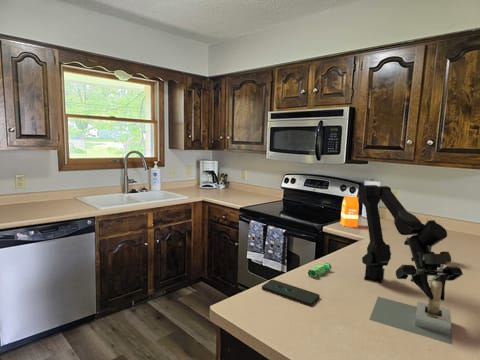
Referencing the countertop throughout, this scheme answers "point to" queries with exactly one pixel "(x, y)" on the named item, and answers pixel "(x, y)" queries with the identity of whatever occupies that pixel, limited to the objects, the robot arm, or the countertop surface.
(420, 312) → the square peg hole block
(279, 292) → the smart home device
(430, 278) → the caliper
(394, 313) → the mat
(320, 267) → the candy
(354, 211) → the orange juice
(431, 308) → the pin
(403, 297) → the countertop surface
